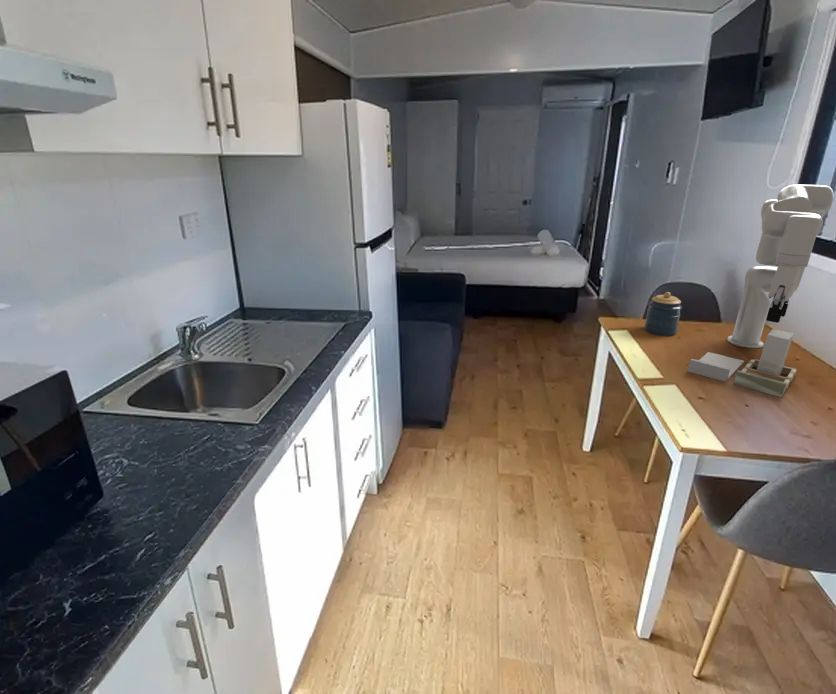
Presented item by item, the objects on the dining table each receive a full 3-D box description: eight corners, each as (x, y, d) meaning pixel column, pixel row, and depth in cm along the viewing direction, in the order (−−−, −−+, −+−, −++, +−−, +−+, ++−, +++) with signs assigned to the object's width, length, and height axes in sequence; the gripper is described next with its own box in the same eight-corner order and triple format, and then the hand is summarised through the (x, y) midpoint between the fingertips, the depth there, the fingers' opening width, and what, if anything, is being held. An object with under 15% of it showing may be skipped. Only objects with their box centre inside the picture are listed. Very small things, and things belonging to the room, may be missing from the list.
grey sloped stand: (707, 353, 189) (710, 343, 187) (743, 362, 181) (746, 351, 179) (687, 371, 173) (690, 359, 171) (725, 381, 165) (729, 369, 164)
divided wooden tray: (750, 364, 180) (753, 353, 178) (795, 375, 171) (798, 363, 169) (733, 384, 164) (736, 371, 162) (781, 397, 155) (785, 384, 153)
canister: (661, 338, 206) (669, 297, 199) (637, 328, 217) (644, 289, 210) (683, 334, 211) (692, 294, 204) (658, 325, 222) (666, 287, 215)
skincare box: (760, 369, 176) (772, 328, 170) (782, 374, 172) (795, 333, 166) (754, 376, 171) (766, 333, 165) (776, 381, 166) (789, 338, 160)
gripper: (782, 254, 149) (766, 310, 155) (770, 262, 137) (753, 322, 143) (813, 257, 144) (795, 315, 150) (803, 266, 132) (784, 328, 138)
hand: (775, 318), depth 147 cm, fingers open, 7 cm apart
